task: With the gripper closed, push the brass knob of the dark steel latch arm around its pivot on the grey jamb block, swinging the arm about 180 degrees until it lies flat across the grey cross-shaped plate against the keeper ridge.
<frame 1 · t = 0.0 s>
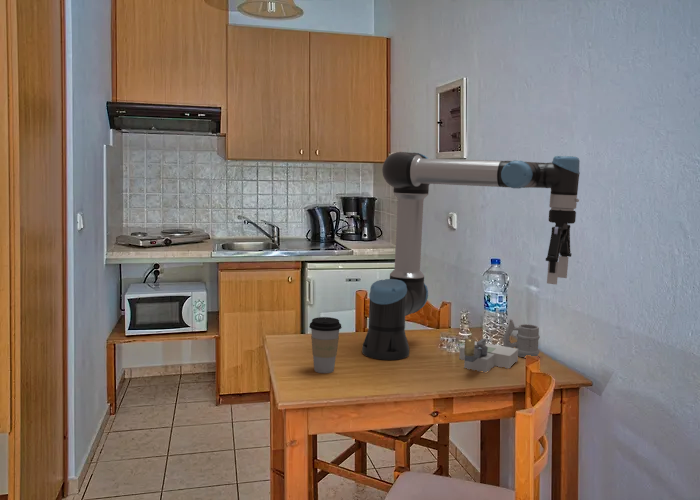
hand: (557, 280, 189), 28 cm above the table, fingers open, 13 cm apart
latch arm: (475, 346, 189), point 8 cm above the table, hinge at -90.0°
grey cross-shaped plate: (488, 360, 202), on the table
jamb block: (478, 367, 194), on the table
mug: (520, 356, 209), on the table
coffee cup: (324, 370, 186), on the table
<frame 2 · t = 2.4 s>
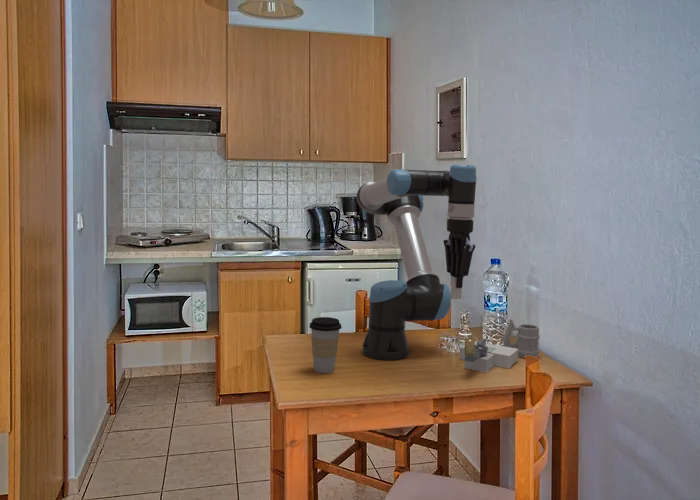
hand: (455, 298, 187), 22 cm above the table, fingers closed
nothing on the table moved.
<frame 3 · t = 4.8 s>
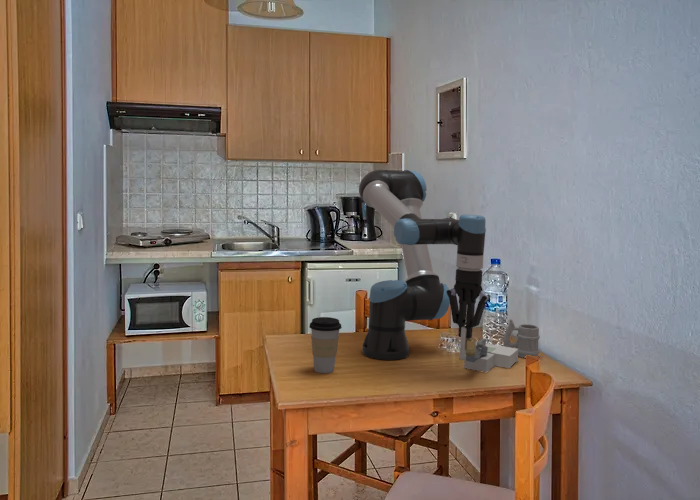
hand: (464, 348, 185), 8 cm above the table, fingers closed
latch arm: (476, 346, 189), point 8 cm above the table, hinge at -87.8°, touching gripper
everything else where it was.
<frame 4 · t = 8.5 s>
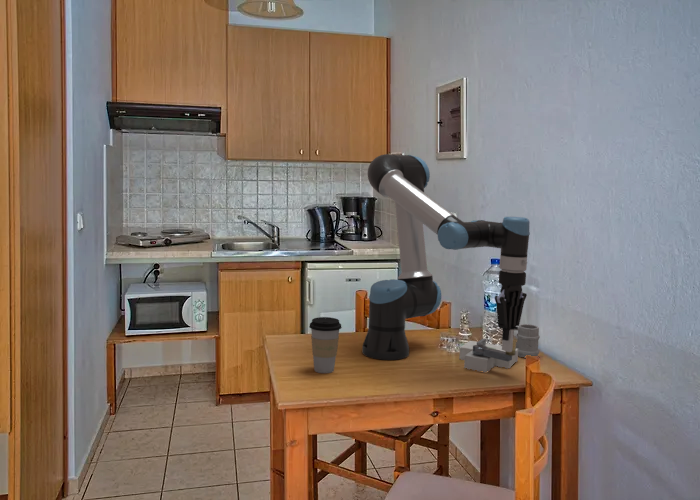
hand: (506, 350, 185), 8 cm above the table, fingers closed
latch arm: (494, 346, 190), point 8 cm above the table, hinge at -11.2°, touching gripper
everything else where it was.
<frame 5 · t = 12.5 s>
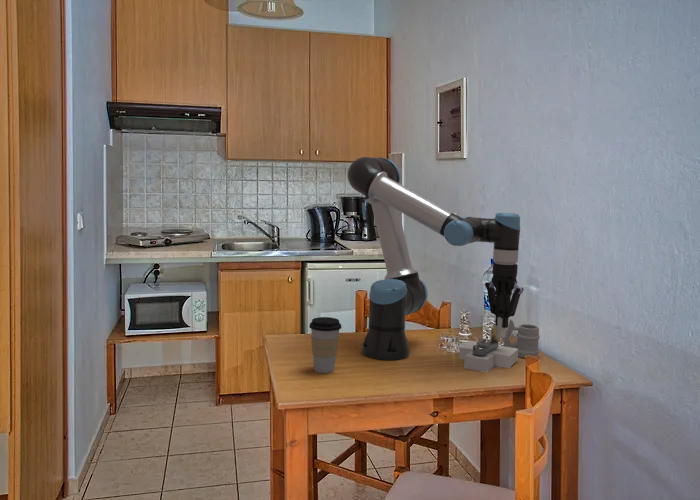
hand: (500, 337, 199), 8 cm above the table, fingers closed
latch arm: (487, 340, 196), point 8 cm above the table, hinge at 80.9°, touching gripper
everything else where it was.
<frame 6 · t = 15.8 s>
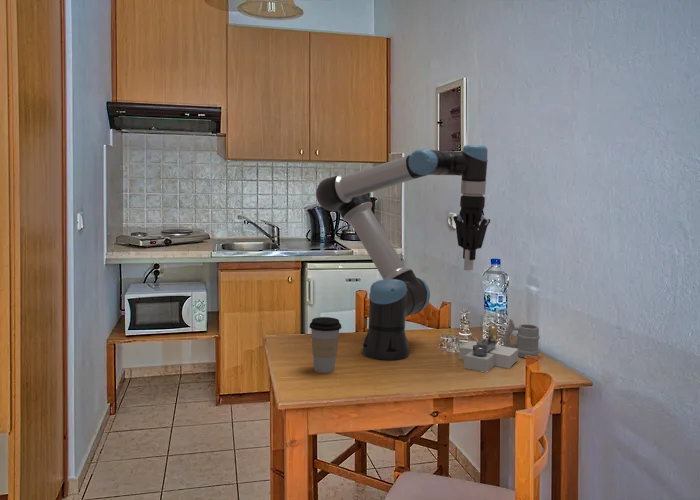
hand: (468, 269, 201), 28 cm above the table, fingers closed
latch arm: (486, 340, 197), point 8 cm above the table, hinge at 86.7°
everything else where it was.
at the end: latch arm at +87° (first picture: -90°) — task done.
